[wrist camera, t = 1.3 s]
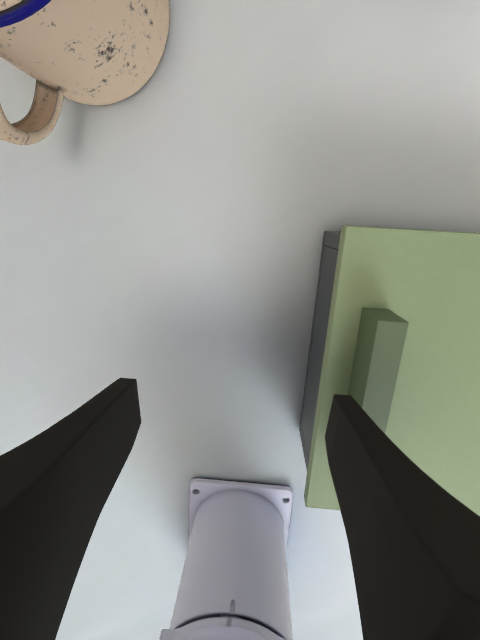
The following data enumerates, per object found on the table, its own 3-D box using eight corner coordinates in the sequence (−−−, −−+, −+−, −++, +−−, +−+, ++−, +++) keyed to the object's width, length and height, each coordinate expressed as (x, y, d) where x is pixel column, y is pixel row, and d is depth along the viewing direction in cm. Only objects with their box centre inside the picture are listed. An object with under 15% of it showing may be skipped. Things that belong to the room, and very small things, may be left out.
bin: (468, 443, 23) (531, 511, 18) (299, 429, 24) (310, 491, 18) (529, 243, 19) (636, 250, 14) (323, 231, 20) (348, 234, 14)
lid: (536, 517, 18) (585, 568, 15) (303, 495, 18) (311, 541, 16) (648, 242, 14) (744, 247, 11) (341, 225, 14) (360, 226, 11)
